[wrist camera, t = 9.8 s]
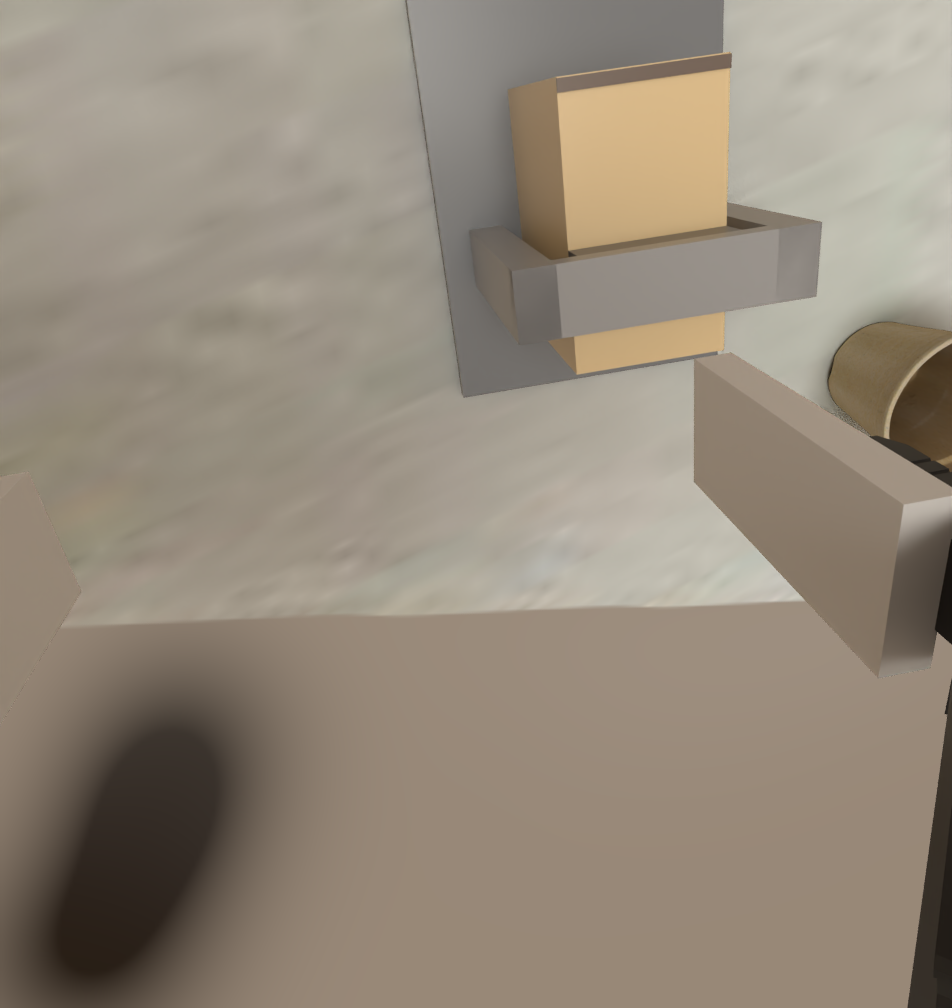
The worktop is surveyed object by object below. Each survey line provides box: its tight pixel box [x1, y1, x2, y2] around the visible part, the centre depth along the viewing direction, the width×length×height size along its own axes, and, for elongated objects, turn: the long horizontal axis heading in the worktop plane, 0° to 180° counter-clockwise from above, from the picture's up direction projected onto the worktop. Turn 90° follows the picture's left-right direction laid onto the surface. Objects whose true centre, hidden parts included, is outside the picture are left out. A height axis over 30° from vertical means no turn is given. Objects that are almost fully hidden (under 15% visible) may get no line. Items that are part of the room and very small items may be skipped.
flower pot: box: [828, 322, 952, 472], centre depth 46 cm, size 9×9×9 cm
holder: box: [406, 0, 822, 397], centre depth 34 cm, size 16×32×14 cm, turn 7°
